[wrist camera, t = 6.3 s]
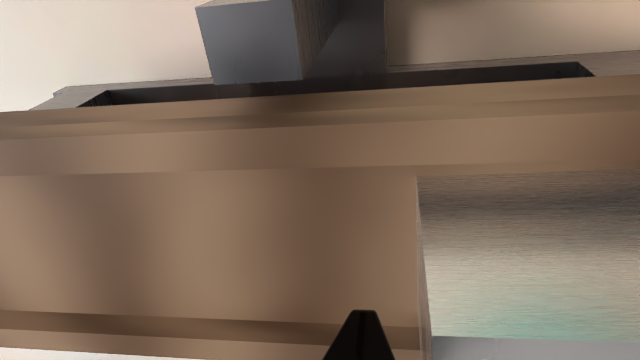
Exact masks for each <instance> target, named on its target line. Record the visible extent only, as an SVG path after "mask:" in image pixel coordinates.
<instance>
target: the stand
mask: <svg viewBox="0 0 640 360" xmlns="http://www.w3.org/2000/svg"><path fill="white" fill-rule="evenodd" d="M195 10H196V14H197V18H198V22H199V26H200V30H201V34H202V38H203V42H204V46H205V50H206V54H207V58H208V62H209V67H210V71H211V75H212V78H197V79H181V80H165V81H150V82H134V83H118V84H103V85H87V86H71V87H64V88H62V89H60V90H58V91H56V92H54V93H53V95H54V98H52V99H50V100H48V101H46V102H44V103H42V104H40V105H38V106H36V107H34V108H32V109H30V110H45V109H62V108H79V107H96V106H112V105H129V104H146V103H163V102H179V101H196V100H213V99H229V98H246V97H263V96H280V95H296V94H313V93H330V92H347V91H363V90H380V89H397V88H413V87H430V86H447V85H464V84H480V83H497V82H514V81H531V80H547V79H564V78H581V77H597V76H614V75H631V74H640V50H636V51H621V52H605V53H589V54H574V55H558V56H542V57H526V58H511V59H495V60H479V61H464V62H448V63H432V64H417V65H401V66H387V54H386V21H385V0H212V1H210V2H207V3H205V4H203V5H200V6H198V7H195ZM28 111H29V110H28Z"/></svg>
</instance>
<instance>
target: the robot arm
mask: <svg viewBox="0 0 640 360" xmlns="http://www.w3.org/2000/svg"><path fill="white" fill-rule="evenodd" d="M322 360H395V357H394V355H393V352H392V350H391V347H390V345H389V342H388V340H387V337H386V334H385V332H384V329H383V327H382V324H381V322H380V319H379V317H378V314H377V312H376V311H375V310H362V309H354V310H352V311H351V312H350V314H349V315H348V317H347V319H346V320H345V322H344V324H343V325H342V327H341V329H340V330H339V332H338V334H337V335H336V337H335V339H334V340H333V342H332V344H331V345H330V347H329V349H328V350H327V352H326V354H325V355H324V357H323V359H322Z"/></svg>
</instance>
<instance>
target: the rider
mask: <svg viewBox="0 0 640 360" xmlns="http://www.w3.org/2000/svg"><path fill="white" fill-rule="evenodd" d="M416 207H417V296H418V324H419V339H420V353H421V360H640V169H621V170H592V171H563V172H534V173H505V174H476V175H447V176H418V177H416Z"/></svg>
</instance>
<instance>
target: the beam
mask: <svg viewBox="0 0 640 360" xmlns="http://www.w3.org/2000/svg"><path fill="white" fill-rule="evenodd" d="M621 169H640V74H631V75H614V76H597V77H581V78H564V79H547V80H531V81H514V82H497V83H480V84H464V85H447V86H430V87H413V88H397V89H380V90H363V91H347V92H330V93H313V94H296V95H280V96H263V97H246V98H229V99H213V100H196V101H179V102H163V103H146V104H129V105H112V106H96V107H79V108H62V109H45V110H29V111H12V112H0V347H8V348H24V349H41V350H57V351H74V352H90V353H107V354H124V355H140V356H157V357H173V358H190V359H206V360H322V359H323V357H324V355H325V354H326V352H327V350H328V349H329V347H330V345H331V344H332V342H333V340H334V339H335V337H336V335H337V334H338V332H339V330H340V329H341V327H342V325H343V324H344V322H345V320H346V319H347V317H348V315H349V314H350V312H351V311H352V310H354V309H362V310H375V311H376V312H377V314H378V317H379V319H380V322H381V324H382V327H383V329H384V332H385V334H386V337H387V340H388V342H389V345H390V347H391V350H392V352H393V355H394V357H395V360H421V353H420V339H419V324H418V296H417V207H416V177H418V176H447V175H476V174H505V173H534V172H563V171H592V170H621Z"/></svg>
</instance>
